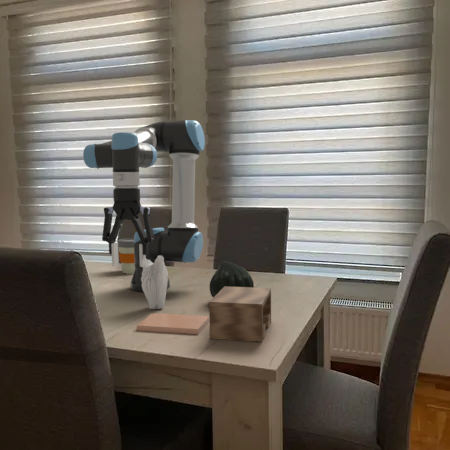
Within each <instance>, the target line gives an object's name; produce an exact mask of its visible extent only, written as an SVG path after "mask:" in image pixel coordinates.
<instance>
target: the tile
mask: <svg viewBox="0 0 450 450" xmlns="http://www.w3.org/2000/svg"><path fill="white" fill-rule="evenodd" d="M208 324H210V317H209V315H208V316H206V315H205V316H204V315H192V314H191V315H189V314H188V315H187V314H171V313H170V314H169V313H154V312H153V313H151V314H150V315H148V316H147V317H146V318H145V319H143V320H142V321H141V322H139V323H138V324H137V325H136V331H141V332H156V333H157V332H158V333H171V334H184V333H186V334H188V335H200V334H201V332H202V331H203V329H205V327H206V326H207V325H208Z"/></svg>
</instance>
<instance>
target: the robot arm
mask: <svg viewBox="0 0 450 450" xmlns="http://www.w3.org/2000/svg"><path fill="white" fill-rule="evenodd" d="M205 146H206V138H205V133H204V129H203V127H202V125H201V124H200V122H199V121H197V120H192V119H191V120H190V119H185V120H171V121H170V120H169V121H163V120H162V121H157V122H154V123H153V122H152V123H151V124H147V125H145V126H142V127H139V128H137V129H136V130H135V131H134V132H127V131H126V132H124V131H123V132H115V133H112V136H111V140H109V141H105V142H102V143H94V144H88V145H86V146H85V147H84V149H83V153H82V157H83V162H84V164H85V166H86V167H88V168H90V169H112V186H113V187H115V188H113V189H112V193H113V194H112V195H113V196H112V197H113V198H112V199H113V205H112V206H111V207H110V206H108V207H104V208H103V213H104V221H103V227H102V228H103V229H102V237H101V239H102V241H103V242H106V243H107V244H108V253H109V255H111V266H112V267H115V266H118V265H119V263H120V258H119V247H118V242H117V237H118V235H119V232H120V229H121V226H122V224H123V223H124V220H129V221H131V222H132V224H133V226H134V228H135V230H136V232H134V235H133V238H134V258H135V270H134V274H132V277H131V281H130V289H131V290H133V291H135V292H143V293H144V291H143V289H142V281H141V277H142V271H143V266H145V265H146V259H147V260H150V261H151V262H152V263H155V260H156V259H157V257H158V256H163V258H164V265H165V264H166V263H165V262H167V263H182V264H183V263H184V264H186V263H195V262H197V261H198V260H199V258H200V257H201V255H202V252H203V246H204V235H203V233H202V232H200V231H199V227H198V225H197V224H195V203H196V202H195V200H196V197H195V195H196V193H195V192H196V160H197V159H198V158H200V152H203V151H204V150H205ZM158 153H168V157H170V159H171V161H172V186H171V187H172V188H171V189H172V191H171V195H172V196H171V197H172V198H171V201H172V202H171V203H172V204H171V223H170V224H169V225H167V231H165V228H164V227H154V228H153V224H152V217H151V211H152V210H151V209H152V208H151V207H150V206H147V207H146V206H142V204H141V189H140V188H139V186H140V185H141V183H140V182H141V181H140V179H141V178H140V168H141V169H146V168H150V167H152V166H154V165H155V164H156V162H157V159H158ZM140 212H141V214H142V219H143V223H144V226H143V224H142V222H141V217H140V216H139V214H140ZM114 213H115V218H114V223H113V224H112V221H113V214H114ZM165 266H166V265H165ZM160 274H161V273H160ZM150 281H151V280H150ZM170 281H171V280H170V278H169V277H168V283H167V289H169V288H170V287H171V285H170V284H171V283H170Z"/></svg>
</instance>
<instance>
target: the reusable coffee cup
mask: <svg viewBox="0 0 450 450" xmlns="http://www.w3.org/2000/svg"><path fill="white" fill-rule="evenodd" d="M117 243H118V259H119V263H120V264H121V270H122V273H123V274H124V273H126V275H133V274H134V270H135V258H134V237H131V238H130V237H128V238H121V239H118V240H117Z"/></svg>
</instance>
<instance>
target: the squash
mask: <svg viewBox="0 0 450 450" xmlns="http://www.w3.org/2000/svg"><path fill="white" fill-rule="evenodd" d="M254 284H255V283H254V280H253V278H252V276H251V273H250V272H249V271H248V270H247V269H246V268H244V267H243V266H240V265H239V264H236V263H233V262H232V261H231V262H230V261H227V260H226V261H225V260H223V261H222V262H221V263H220V264H219V265H218V268H217V269H216V271H215V273H213V276H212V277H211V279H210V282H209V293H210V295H211V297H212V299H213V298H214V297H215V296H216V295H217V293H218V292H219V291H220V290H221V289H222V288H223V287H224V286H228V287H253V288H255V286H254Z"/></svg>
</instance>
